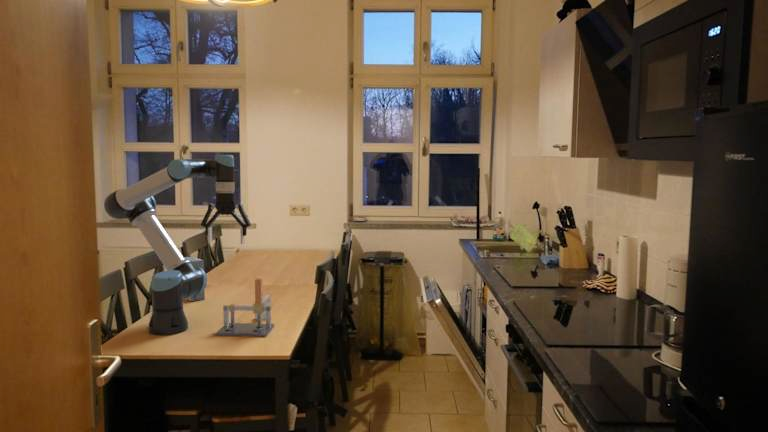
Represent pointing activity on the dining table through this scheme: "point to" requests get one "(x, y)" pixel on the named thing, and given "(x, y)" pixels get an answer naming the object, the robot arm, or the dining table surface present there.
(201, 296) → the hard drive box
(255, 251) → the dining table surface
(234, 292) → the dining table surface
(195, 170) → the robot arm
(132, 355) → the dining table surface
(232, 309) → the grey bracket frame
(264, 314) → the white wedge bracket
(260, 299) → the sliding leg
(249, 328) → the bolt plate
